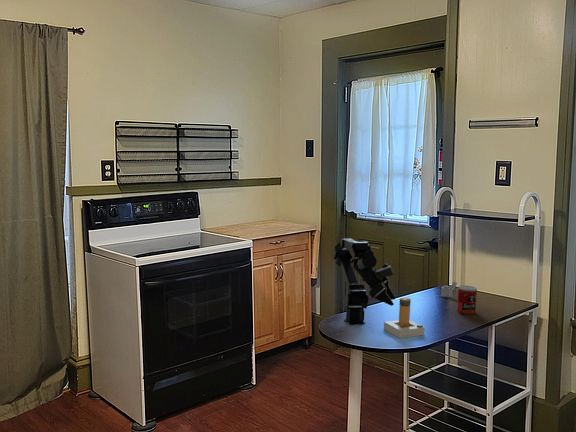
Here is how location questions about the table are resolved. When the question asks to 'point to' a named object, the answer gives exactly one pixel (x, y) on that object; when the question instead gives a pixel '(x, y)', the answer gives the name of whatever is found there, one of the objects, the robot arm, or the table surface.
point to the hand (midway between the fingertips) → (393, 302)
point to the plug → (404, 312)
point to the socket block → (404, 329)
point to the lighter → (447, 290)
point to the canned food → (466, 299)
